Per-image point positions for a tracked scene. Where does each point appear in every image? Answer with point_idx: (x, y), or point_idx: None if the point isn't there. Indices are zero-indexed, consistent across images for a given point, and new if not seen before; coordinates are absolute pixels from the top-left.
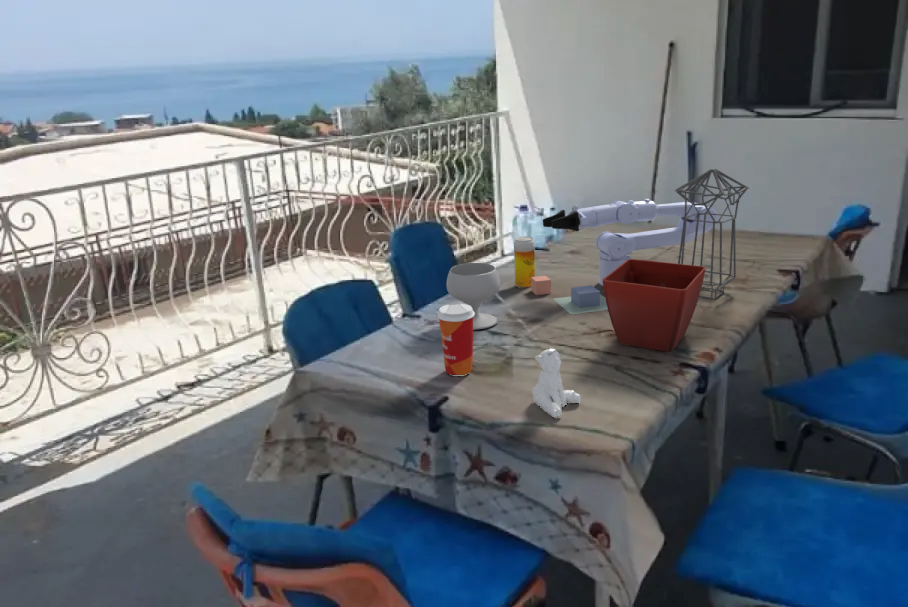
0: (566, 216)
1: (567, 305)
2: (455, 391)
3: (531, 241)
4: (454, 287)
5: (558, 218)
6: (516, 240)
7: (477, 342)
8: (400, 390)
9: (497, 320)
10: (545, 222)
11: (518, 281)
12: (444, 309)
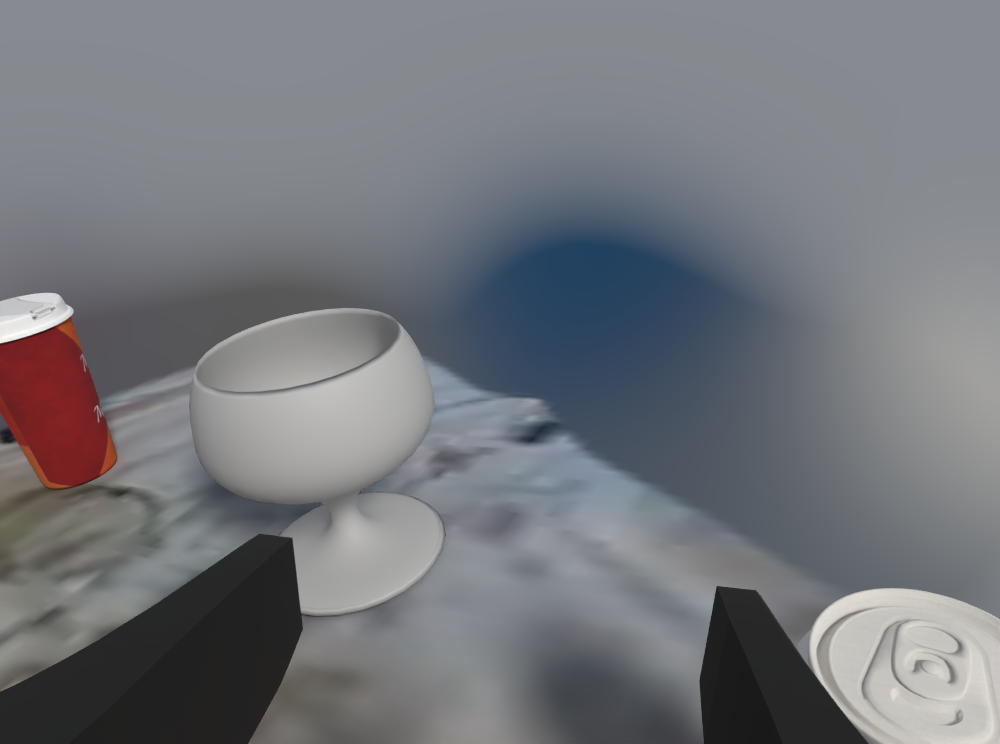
0: (33, 682)
1: None
2: (11, 454)
3: None
4: (294, 358)
5: (220, 601)
6: (865, 594)
7: (191, 527)
8: (124, 396)
9: None
10: (716, 656)
11: None
12: (35, 297)
